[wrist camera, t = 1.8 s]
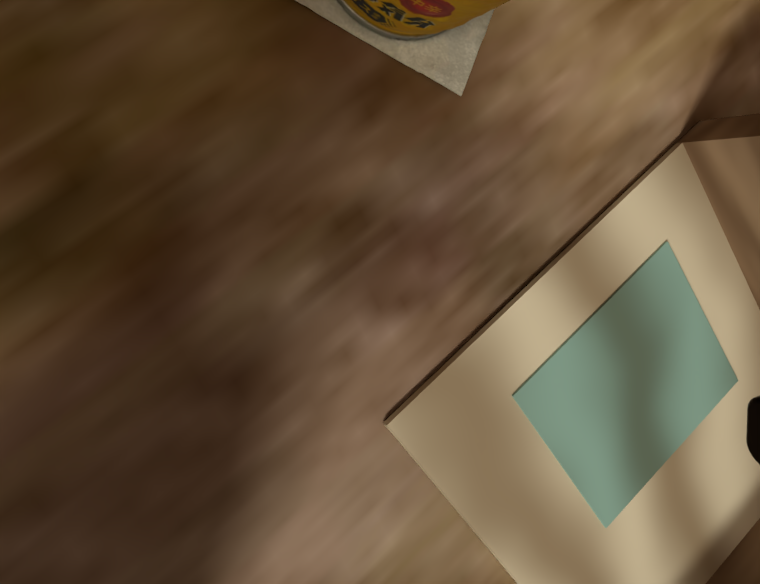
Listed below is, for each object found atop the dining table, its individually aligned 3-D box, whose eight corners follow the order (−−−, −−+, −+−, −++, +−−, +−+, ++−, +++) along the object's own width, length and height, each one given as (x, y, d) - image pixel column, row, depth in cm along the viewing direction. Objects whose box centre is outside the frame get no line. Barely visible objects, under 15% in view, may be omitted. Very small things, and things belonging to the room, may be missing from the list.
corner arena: (621, 708, 28) (718, 806, 24) (382, 422, 21) (456, 484, 17) (841, 440, 32) (961, 480, 28) (699, 120, 25) (829, 105, 20)
